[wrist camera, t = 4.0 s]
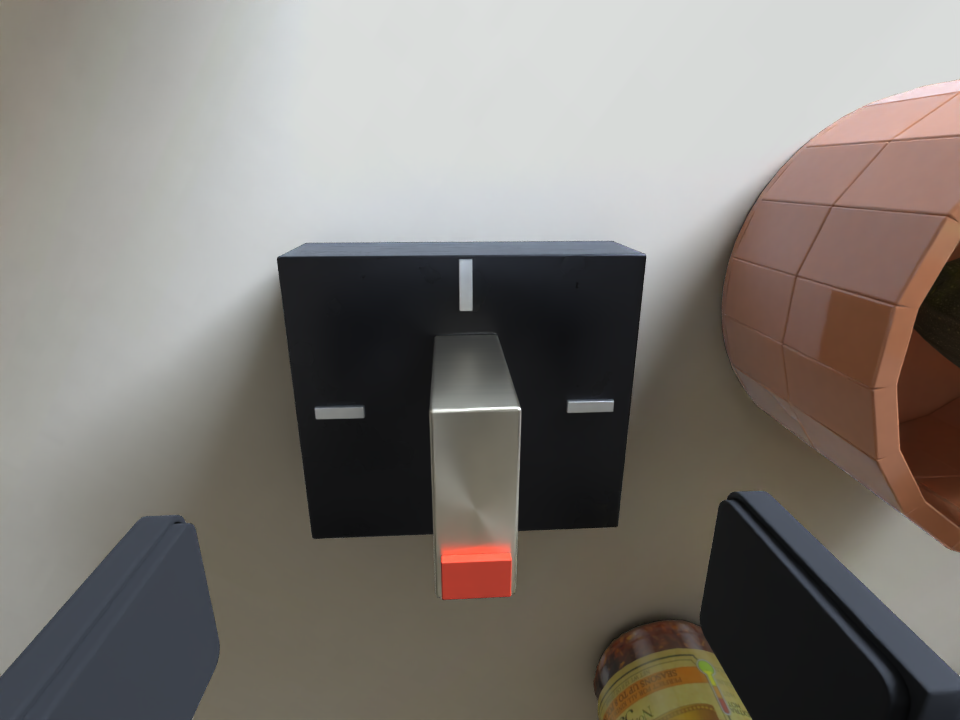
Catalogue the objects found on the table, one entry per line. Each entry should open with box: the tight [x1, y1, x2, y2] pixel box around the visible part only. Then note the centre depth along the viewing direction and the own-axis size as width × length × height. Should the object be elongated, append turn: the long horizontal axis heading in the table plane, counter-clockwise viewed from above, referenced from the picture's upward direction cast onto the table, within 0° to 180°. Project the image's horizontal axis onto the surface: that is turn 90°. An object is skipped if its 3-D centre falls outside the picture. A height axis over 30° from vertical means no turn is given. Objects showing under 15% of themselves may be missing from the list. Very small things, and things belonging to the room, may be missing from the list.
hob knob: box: [429, 335, 521, 600], centre depth 13 cm, size 5×2×5 cm, turn 0°
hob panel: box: [277, 241, 646, 539], centre depth 17 cm, size 10×9×3 cm
